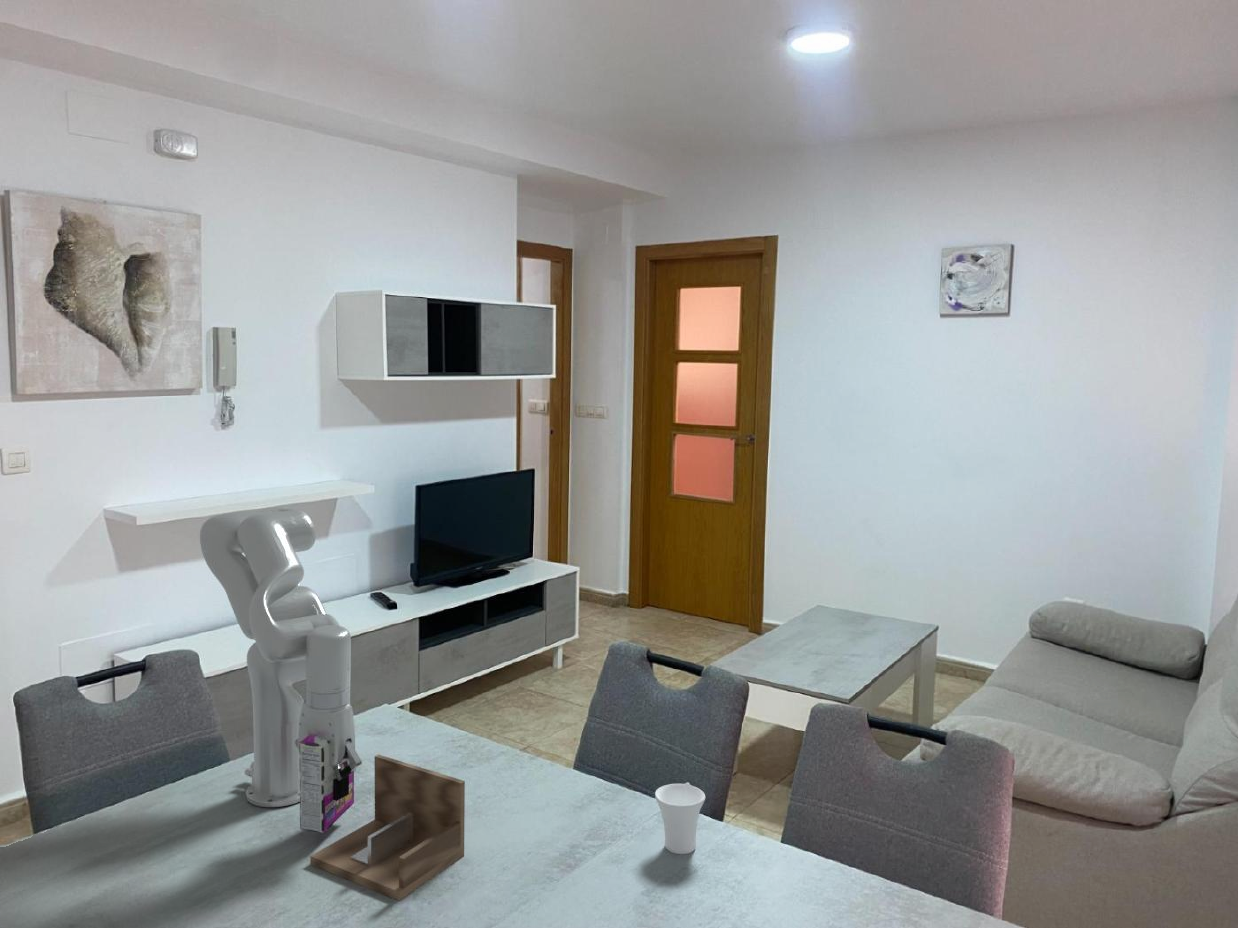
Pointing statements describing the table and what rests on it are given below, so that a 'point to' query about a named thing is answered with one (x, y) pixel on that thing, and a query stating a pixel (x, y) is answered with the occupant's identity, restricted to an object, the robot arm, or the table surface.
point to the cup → (680, 815)
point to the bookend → (386, 841)
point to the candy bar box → (319, 787)
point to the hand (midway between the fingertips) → (327, 791)
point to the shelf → (433, 830)
